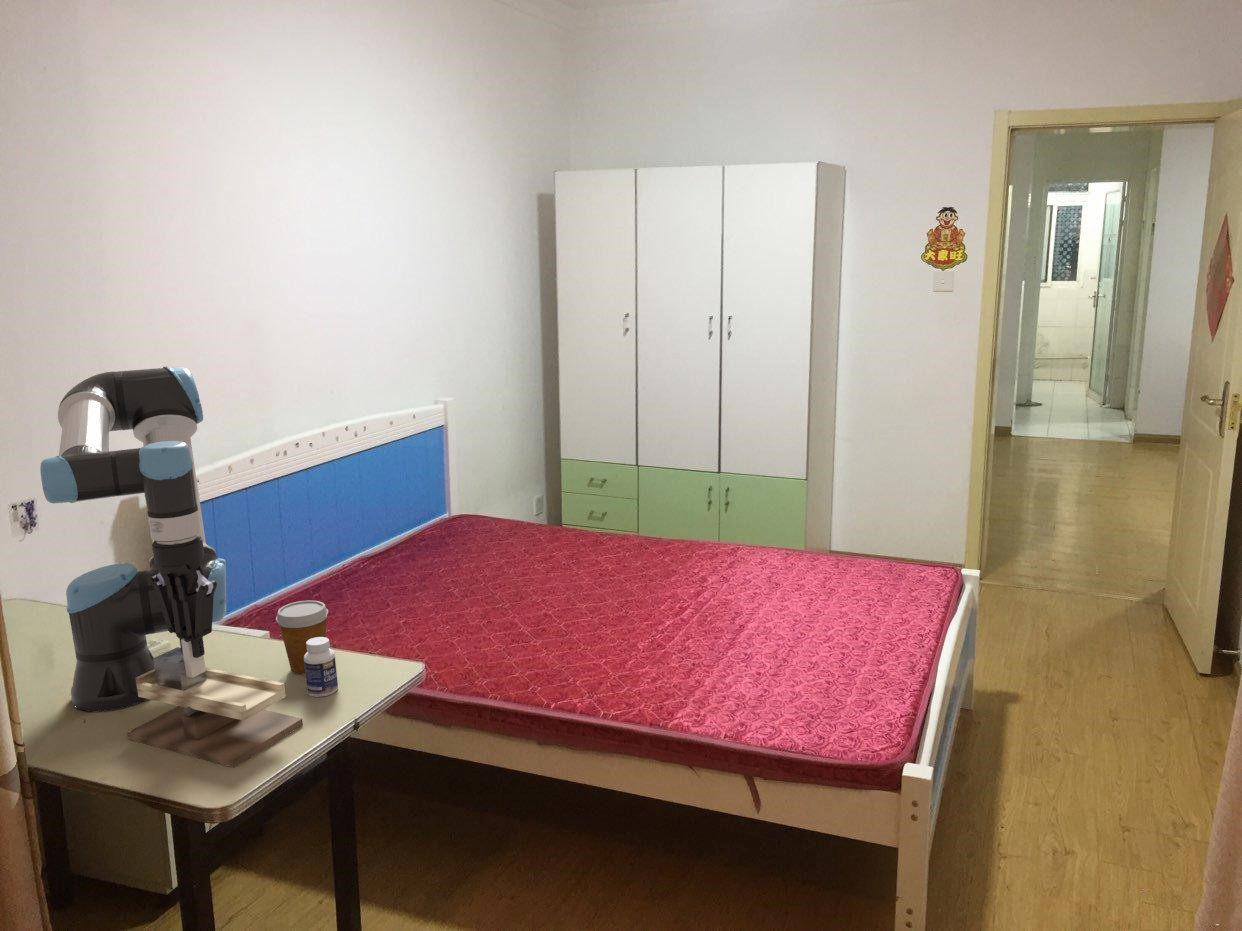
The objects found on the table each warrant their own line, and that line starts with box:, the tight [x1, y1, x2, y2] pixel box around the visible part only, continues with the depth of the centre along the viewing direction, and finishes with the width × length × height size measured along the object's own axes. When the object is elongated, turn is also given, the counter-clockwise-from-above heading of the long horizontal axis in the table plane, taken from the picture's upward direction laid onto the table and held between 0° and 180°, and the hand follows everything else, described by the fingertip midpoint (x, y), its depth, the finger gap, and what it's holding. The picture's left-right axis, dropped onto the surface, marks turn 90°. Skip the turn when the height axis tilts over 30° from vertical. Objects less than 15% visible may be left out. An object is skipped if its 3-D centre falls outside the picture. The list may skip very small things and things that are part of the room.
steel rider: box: [153, 646, 207, 691], centre depth 170 cm, size 6×5×5 cm
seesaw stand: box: [127, 706, 304, 768], centre depth 169 cm, size 24×15×5 cm, turn 64°
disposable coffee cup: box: [275, 600, 329, 675], centre depth 192 cm, size 10×10×12 cm
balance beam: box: [136, 667, 287, 721], centre depth 167 cm, size 24×10×4 cm, turn 64°
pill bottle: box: [304, 636, 339, 698], centre depth 182 cm, size 5×5×10 cm
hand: (196, 673), depth 168 cm, fingers closed
